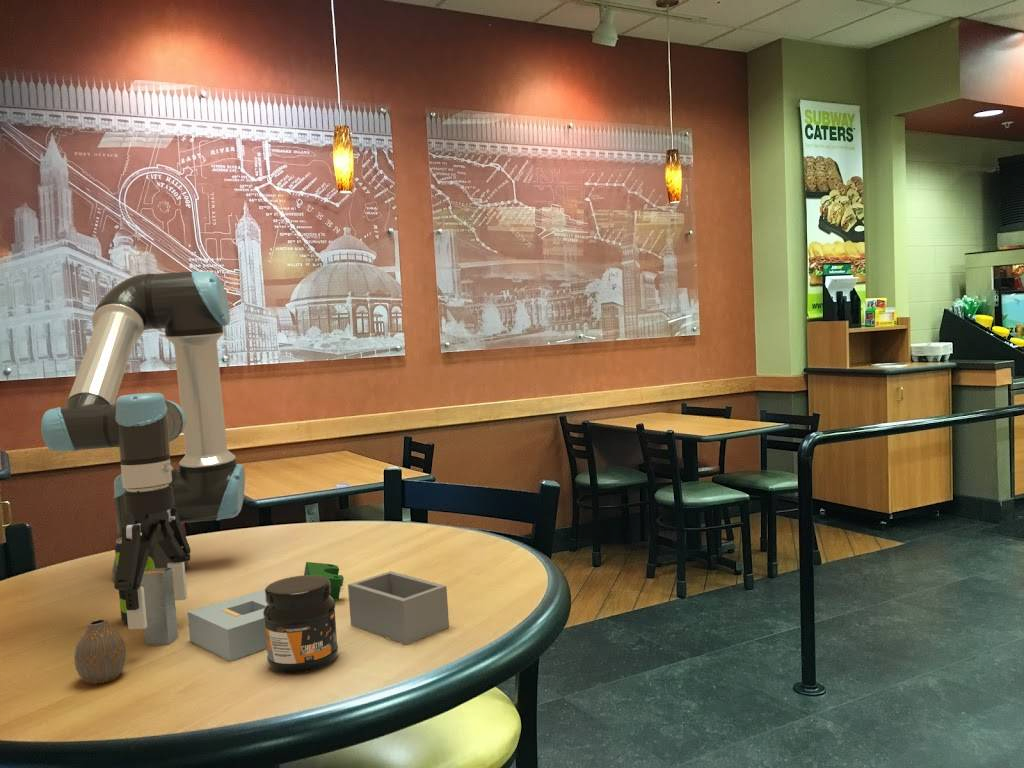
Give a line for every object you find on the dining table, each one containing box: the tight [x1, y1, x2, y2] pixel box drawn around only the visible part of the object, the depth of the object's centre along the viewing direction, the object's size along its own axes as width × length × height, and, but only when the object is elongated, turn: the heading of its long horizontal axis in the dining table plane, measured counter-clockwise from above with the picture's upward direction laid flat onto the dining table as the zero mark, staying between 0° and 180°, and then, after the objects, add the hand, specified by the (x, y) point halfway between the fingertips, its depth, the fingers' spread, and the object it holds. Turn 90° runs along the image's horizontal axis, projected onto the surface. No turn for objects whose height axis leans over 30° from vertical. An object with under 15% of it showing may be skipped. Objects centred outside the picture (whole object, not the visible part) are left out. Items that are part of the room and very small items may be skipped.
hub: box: [187, 588, 267, 662], centre depth 135 cm, size 14×14×5 cm
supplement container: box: [263, 574, 339, 675], centre depth 123 cm, size 10×10×12 cm
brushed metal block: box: [140, 568, 179, 646], centre depth 135 cm, size 4×3×12 cm
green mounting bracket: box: [303, 561, 345, 601], centre depth 154 cm, size 12×6×9 cm, turn 14°
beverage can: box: [114, 538, 155, 625], centre depth 147 cm, size 6×6×15 cm
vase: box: [73, 618, 127, 685], centre depth 121 cm, size 7×7×9 cm
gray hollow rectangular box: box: [347, 570, 450, 646], centre depth 136 cm, size 15×9×7 cm, turn 46°
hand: (159, 613), depth 135 cm, fingers open, 13 cm apart
